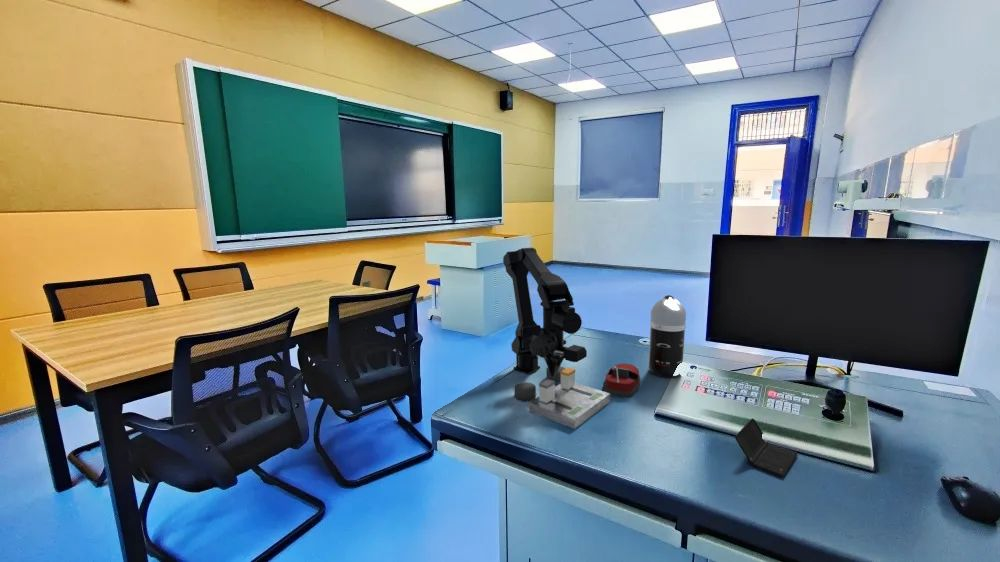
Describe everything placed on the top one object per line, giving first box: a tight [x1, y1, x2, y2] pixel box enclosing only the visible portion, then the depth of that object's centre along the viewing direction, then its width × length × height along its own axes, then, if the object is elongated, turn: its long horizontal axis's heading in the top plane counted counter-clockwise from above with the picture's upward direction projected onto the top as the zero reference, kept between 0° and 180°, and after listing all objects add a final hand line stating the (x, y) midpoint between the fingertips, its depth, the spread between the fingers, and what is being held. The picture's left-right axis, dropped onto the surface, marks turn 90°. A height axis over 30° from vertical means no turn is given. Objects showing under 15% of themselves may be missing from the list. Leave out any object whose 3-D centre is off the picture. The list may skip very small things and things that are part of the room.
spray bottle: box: [648, 294, 687, 378], centre depth 132 cm, size 10×10×25 cm
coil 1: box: [514, 381, 537, 402], centre depth 120 cm, size 6×6×3 cm
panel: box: [528, 382, 611, 430], centre depth 114 cm, size 14×18×3 cm
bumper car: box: [603, 362, 641, 399], centre depth 124 cm, size 10×20×10 cm, turn 153°
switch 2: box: [560, 367, 576, 390], centre depth 119 cm, size 2×4×5 cm
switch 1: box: [538, 378, 556, 403], centre depth 112 cm, size 2×4×5 cm
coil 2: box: [546, 366, 566, 384], centre depth 131 cm, size 6×6×3 cm
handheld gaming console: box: [734, 418, 798, 479], centre depth 90 cm, size 12×7×10 cm
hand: (553, 376), depth 123 cm, fingers closed
